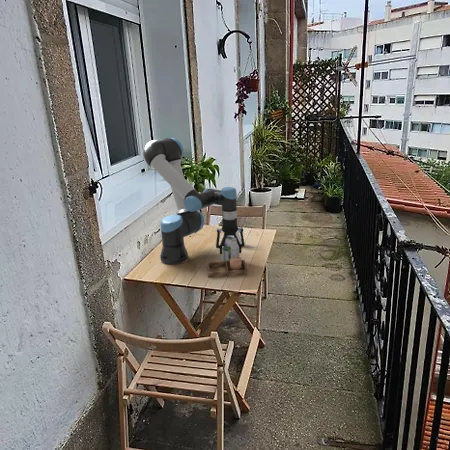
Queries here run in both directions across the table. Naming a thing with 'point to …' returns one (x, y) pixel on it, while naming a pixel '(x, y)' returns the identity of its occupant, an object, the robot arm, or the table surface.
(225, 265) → the caddy
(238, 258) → the tan rounded block
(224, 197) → the robot arm
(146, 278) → the table surface
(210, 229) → the table surface
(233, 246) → the syrup box
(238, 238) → the sitting furry creature
